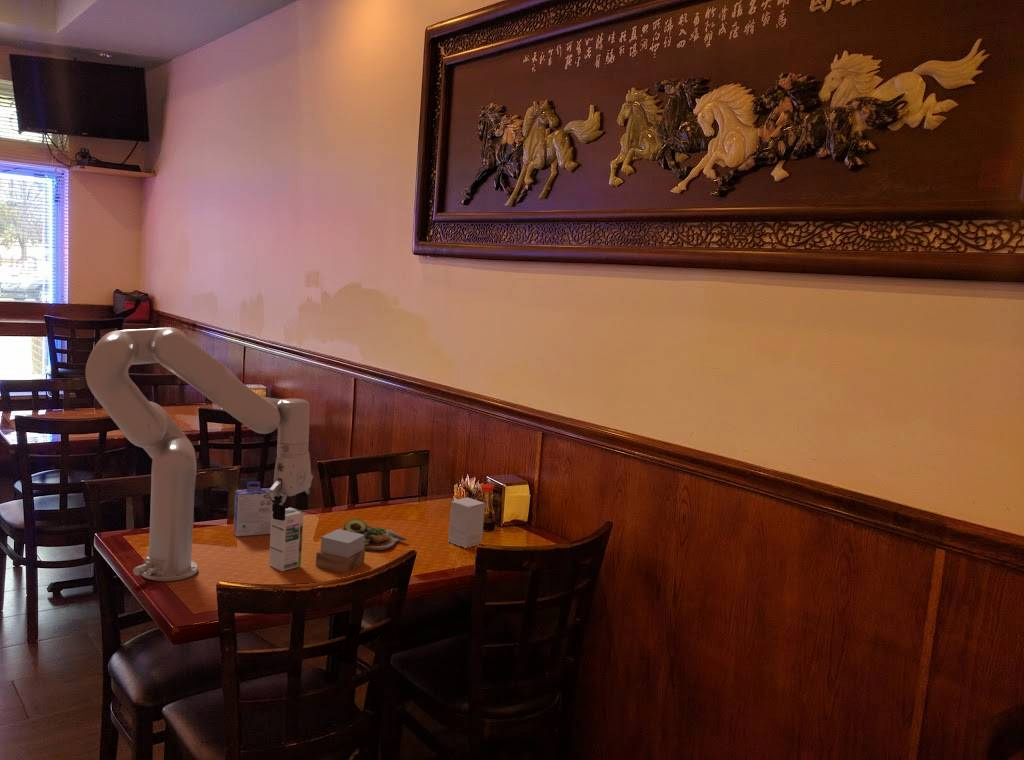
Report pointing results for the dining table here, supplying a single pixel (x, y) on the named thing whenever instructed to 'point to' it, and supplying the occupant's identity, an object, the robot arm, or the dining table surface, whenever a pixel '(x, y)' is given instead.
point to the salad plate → (373, 534)
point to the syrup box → (286, 540)
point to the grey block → (342, 543)
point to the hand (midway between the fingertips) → (290, 514)
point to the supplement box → (466, 522)
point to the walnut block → (339, 561)
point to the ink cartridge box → (252, 511)
